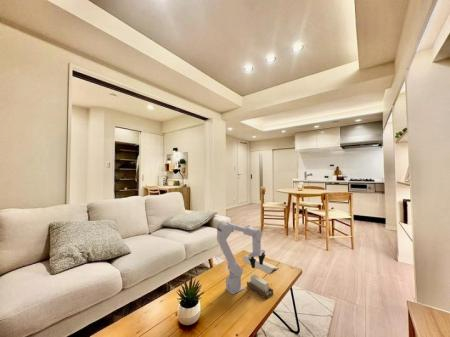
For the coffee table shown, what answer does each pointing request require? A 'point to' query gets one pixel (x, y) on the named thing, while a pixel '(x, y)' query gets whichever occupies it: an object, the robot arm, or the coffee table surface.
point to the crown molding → (264, 267)
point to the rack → (260, 290)
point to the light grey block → (260, 283)
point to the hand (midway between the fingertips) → (257, 266)
